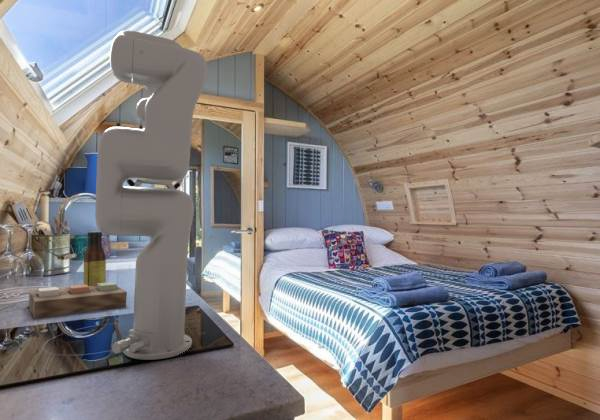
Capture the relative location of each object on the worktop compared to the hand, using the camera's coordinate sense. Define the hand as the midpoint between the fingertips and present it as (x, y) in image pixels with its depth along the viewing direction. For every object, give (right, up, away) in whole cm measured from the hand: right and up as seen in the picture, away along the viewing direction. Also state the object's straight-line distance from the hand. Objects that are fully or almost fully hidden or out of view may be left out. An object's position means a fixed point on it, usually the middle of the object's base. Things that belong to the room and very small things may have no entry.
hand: (153, 203), depth 110 cm
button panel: (-17, -29, -10) cm, 35 cm away
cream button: (-22, -26, -15) cm, 37 cm away
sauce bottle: (-22, -29, +6) cm, 37 cm away
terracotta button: (-17, -26, -10) cm, 33 cm away
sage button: (-11, -27, -6) cm, 30 cm away
